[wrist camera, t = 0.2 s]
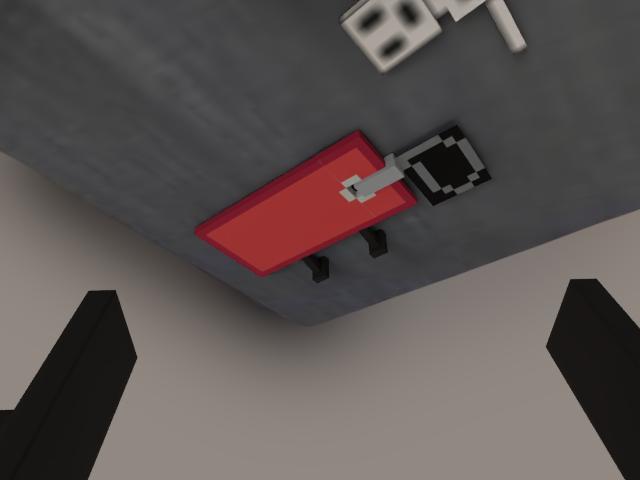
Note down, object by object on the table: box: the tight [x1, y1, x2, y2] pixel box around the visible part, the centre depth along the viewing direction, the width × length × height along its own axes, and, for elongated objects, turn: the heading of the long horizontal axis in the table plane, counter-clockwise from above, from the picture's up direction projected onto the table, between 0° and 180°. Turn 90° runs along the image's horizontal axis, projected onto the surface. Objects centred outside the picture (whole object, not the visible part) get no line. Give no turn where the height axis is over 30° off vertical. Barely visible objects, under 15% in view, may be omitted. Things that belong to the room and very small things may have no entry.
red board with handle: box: [194, 125, 492, 283], centre depth 50 cm, size 30×3×15 cm
